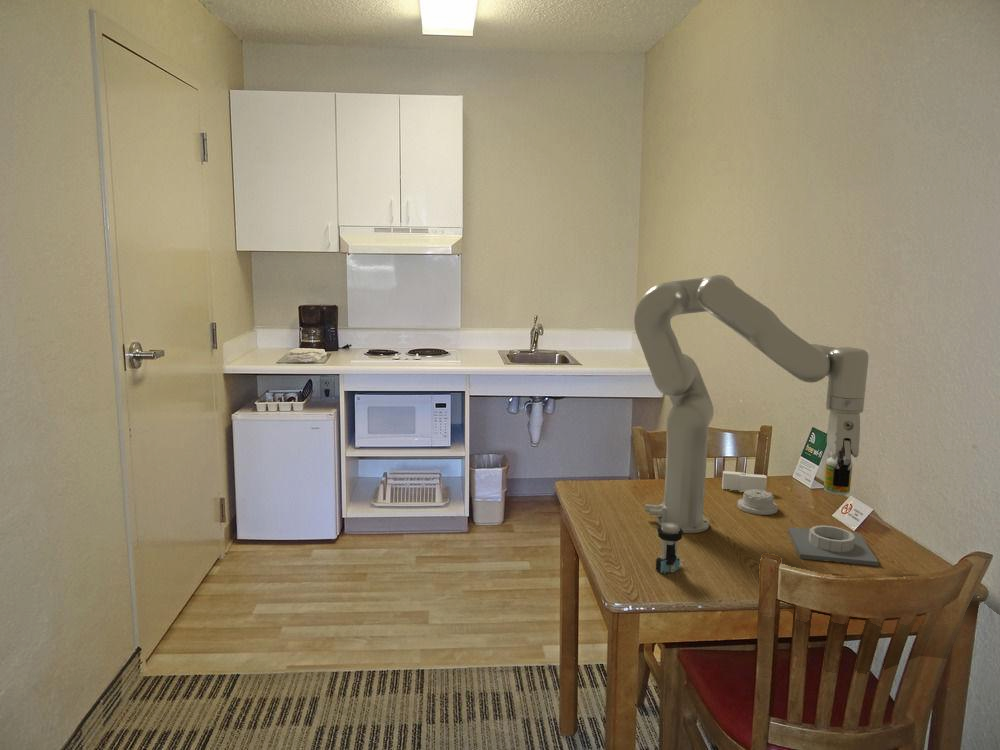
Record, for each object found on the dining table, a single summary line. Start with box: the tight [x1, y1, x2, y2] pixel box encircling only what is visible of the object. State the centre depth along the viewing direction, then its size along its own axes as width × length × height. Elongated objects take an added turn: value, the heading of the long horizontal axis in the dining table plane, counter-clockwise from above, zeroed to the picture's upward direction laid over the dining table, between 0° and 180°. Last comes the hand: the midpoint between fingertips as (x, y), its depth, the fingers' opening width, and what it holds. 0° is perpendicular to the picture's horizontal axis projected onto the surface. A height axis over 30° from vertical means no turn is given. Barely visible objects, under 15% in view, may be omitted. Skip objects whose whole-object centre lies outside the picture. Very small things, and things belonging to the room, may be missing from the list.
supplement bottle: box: [823, 451, 853, 496], centre depth 163 cm, size 5×5×10 cm
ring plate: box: [787, 524, 879, 567], centre depth 166 cm, size 16×16×4 cm
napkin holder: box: [721, 470, 768, 493], centre depth 205 cm, size 15×11×6 cm
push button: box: [655, 523, 684, 574], centre depth 153 cm, size 7×5×10 cm
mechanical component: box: [737, 489, 779, 516], centre depth 190 cm, size 10×4×10 cm
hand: (837, 480), depth 163 cm, fingers closed on supplement bottle, 5 cm apart
